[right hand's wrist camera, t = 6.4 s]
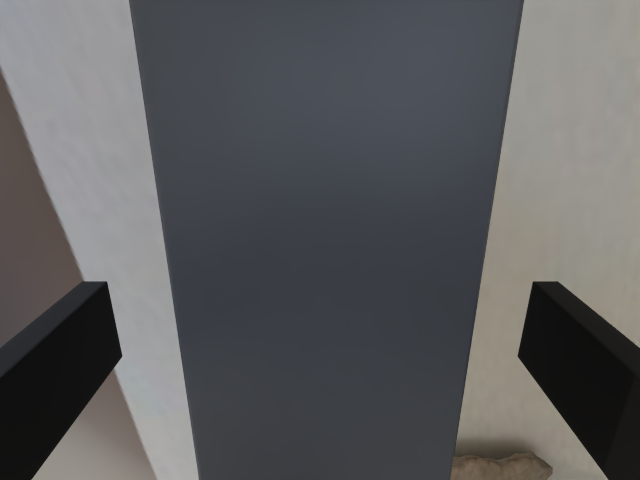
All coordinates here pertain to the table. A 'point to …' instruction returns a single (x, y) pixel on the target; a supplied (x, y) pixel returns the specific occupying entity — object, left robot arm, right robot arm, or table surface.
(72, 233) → the table surface
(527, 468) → the stone
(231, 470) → the bar
